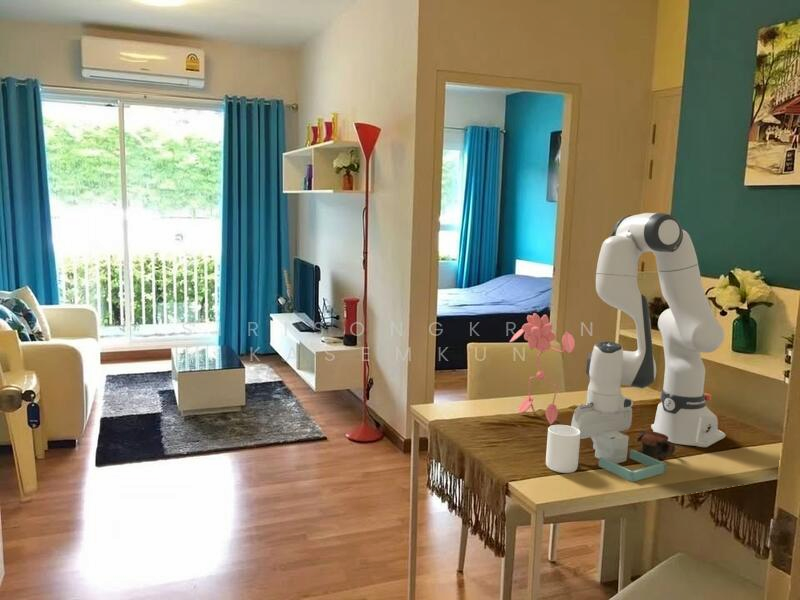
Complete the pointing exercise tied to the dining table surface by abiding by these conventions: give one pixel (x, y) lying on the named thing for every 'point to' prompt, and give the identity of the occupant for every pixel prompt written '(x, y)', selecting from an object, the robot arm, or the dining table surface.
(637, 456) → the u-shaped bracket
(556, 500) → the dining table surface
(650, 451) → the pottery mug
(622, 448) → the skincare box
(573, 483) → the dining table surface
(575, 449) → the mug
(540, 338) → the pink flower stem
